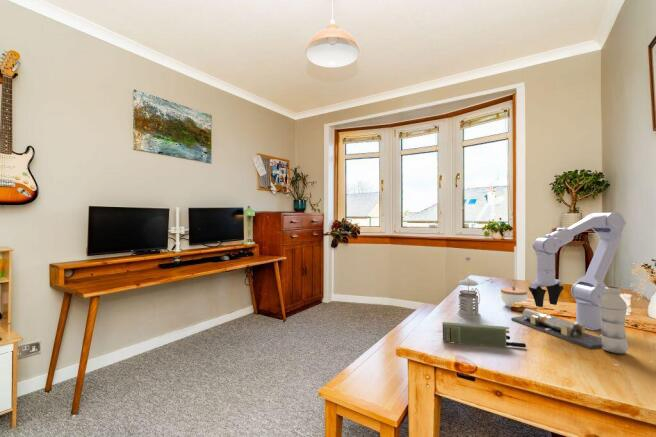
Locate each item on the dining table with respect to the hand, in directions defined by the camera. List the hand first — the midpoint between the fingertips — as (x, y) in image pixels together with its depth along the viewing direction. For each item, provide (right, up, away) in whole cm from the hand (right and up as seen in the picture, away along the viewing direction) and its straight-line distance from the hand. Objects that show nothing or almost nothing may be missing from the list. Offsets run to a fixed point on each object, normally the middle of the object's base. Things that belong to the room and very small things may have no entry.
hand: (546, 305), depth 120 cm
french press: (-21, -9, +17) cm, 29 cm away
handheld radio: (-31, -10, -15) cm, 36 cm away
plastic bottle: (+6, -9, -22) cm, 24 cm away
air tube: (0, -7, -1) cm, 7 cm away
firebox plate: (+1, -8, -4) cm, 9 cm away
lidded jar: (+4, -9, +28) cm, 30 cm away
